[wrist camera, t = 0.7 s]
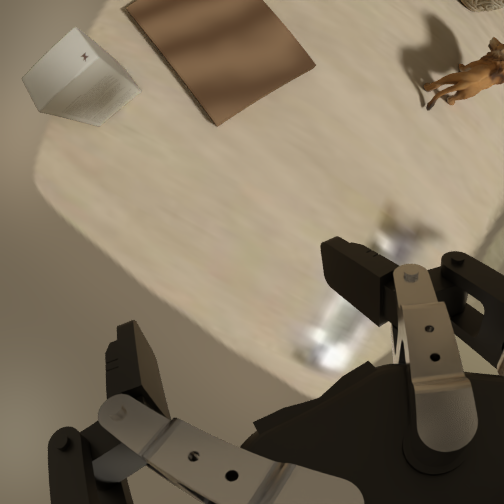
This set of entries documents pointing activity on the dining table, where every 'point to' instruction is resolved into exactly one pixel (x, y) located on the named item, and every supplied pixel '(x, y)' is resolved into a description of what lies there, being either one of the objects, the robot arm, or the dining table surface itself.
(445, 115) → the dining table surface
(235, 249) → the dining table surface
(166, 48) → the walnut board
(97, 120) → the skincare box
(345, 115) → the dining table surface
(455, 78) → the lion figurine
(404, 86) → the dining table surface
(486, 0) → the carving
